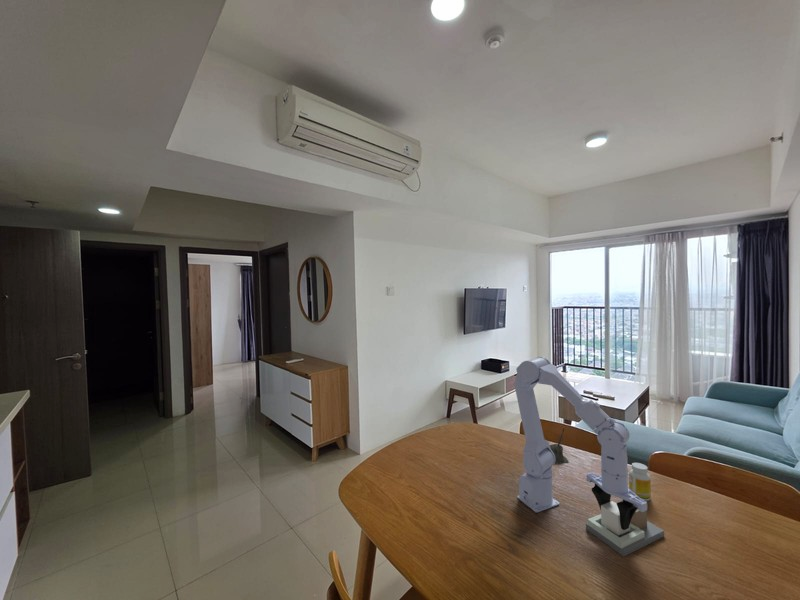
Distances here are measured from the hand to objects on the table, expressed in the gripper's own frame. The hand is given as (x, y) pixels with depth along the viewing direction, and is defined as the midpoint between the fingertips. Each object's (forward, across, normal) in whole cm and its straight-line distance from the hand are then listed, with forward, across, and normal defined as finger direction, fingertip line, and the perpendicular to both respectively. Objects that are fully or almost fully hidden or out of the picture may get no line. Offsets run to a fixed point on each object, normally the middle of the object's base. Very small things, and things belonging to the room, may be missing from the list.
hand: (615, 521), depth 83 cm
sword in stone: (+4, +36, -18) cm, 41 cm away
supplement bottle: (+4, +8, -24) cm, 25 cm away
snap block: (+2, 0, 0) cm, 2 cm away
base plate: (+4, 0, -4) cm, 5 cm away
